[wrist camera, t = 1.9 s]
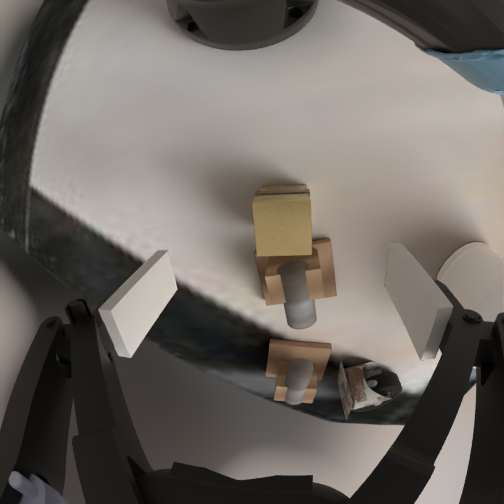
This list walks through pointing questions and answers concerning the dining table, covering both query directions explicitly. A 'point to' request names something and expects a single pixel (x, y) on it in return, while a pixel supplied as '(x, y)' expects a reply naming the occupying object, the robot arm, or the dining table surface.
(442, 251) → the dining table surface
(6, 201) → the dining table surface
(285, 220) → the block
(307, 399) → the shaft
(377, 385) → the caster wheel
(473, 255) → the jar
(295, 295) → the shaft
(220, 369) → the dining table surface
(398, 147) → the dining table surface
